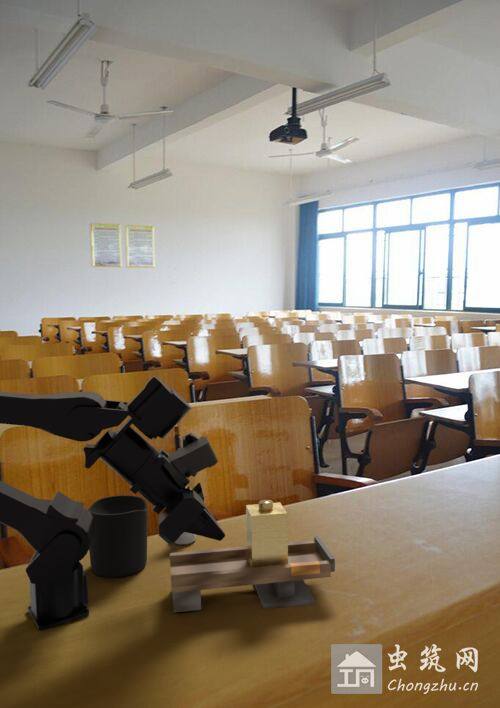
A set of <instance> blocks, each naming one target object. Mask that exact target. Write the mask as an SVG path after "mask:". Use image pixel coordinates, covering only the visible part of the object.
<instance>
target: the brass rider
mask: <svg viewBox="0 0 500 708" xmlns="http://www.w3.org/2000/svg"><path fill="white" fill-rule="evenodd" d="M245 521H246V526H245V527H246V546H247V560H248V563H249V565H250V568H252V567H263V566H274V565H284V564H288V543H289V542H288V541H289V540H288V537H289V536H288V534H289V533H288V512H287V511H286V510H285V508H284V507H283V505H282V503H281V502H280V501H279V502H274V501H273V500H271V499H261V500H259V501H258V504H257V503H256V504H246V505H245Z"/></svg>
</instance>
